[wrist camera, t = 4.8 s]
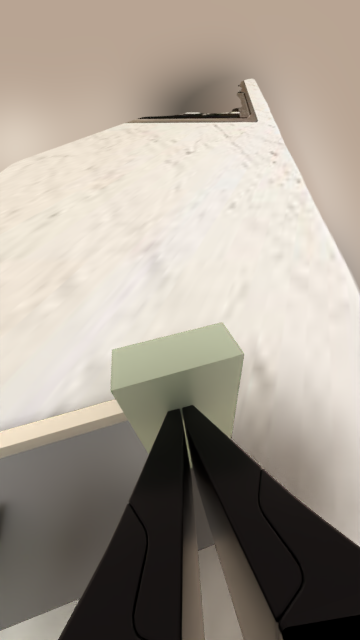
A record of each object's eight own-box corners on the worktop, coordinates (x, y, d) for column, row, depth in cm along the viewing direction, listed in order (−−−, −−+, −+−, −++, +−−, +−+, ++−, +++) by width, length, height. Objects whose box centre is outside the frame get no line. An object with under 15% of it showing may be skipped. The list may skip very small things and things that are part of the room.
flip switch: (228, 454, 11) (244, 354, 6) (162, 477, 11) (110, 390, 5) (217, 427, 13) (222, 322, 7) (158, 446, 12) (112, 349, 7)
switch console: (245, 515, 12) (281, 558, 8) (-72, 639, 10) (-278, 800, 5) (203, 388, 16) (211, 368, 12) (-27, 455, 14) (-124, 462, 10)
